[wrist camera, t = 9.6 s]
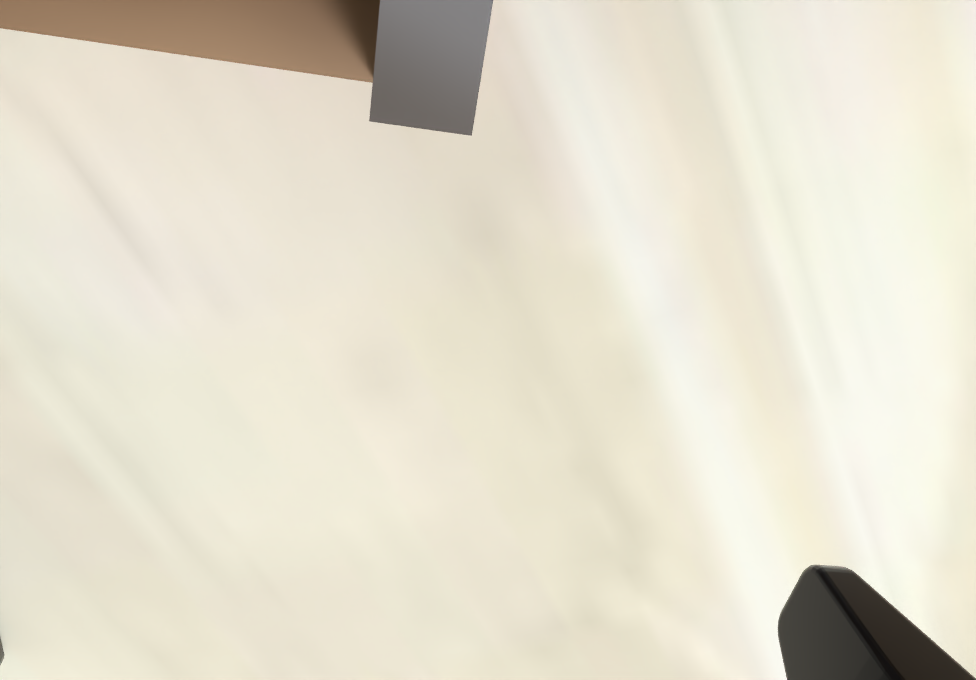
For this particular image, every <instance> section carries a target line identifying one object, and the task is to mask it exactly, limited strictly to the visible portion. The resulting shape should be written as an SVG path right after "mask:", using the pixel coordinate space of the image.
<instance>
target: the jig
mask: <svg viewBox="0 0 976 680" xmlns="http://www.w3.org/2000/svg"><path fill="white" fill-rule="evenodd" d="M492 4H493V0H0V28H3V29H10V30H17V31H24V32H31V33H38V34H44V35H51V36H58V37H65V38H72V39H79V40H85V41H92V42H99V43H106V44H113V45H119V46H126V47H133V48H140V49H147V50H154V51H160V52H167V53H174V54H181V55H188V56H195V57H201V58H208V59H215V60H222V61H229V62H235V63H242V64H249V65H256V66H263V67H270V68H276V69H283V70H290V71H297V72H304V73H311V74H317V75H324V76H331V77H338V78H345V79H351V80H358V81H365V82H372V83H373V87H372V98H371V109H370V120H369V121H371V122H378V123H385V124H393V125H400V126H407V127H414V128H421V129H428V130H435V131H443V132H450V133H457V134H464V135H471V136H472V130H473V123H474V117H475V111H476V105H477V98H478V92H479V86H480V79H481V73H482V67H483V60H484V54H485V48H486V42H487V35H488V29H489V23H490V16H491V10H492Z"/></svg>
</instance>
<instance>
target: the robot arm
mask: <svg viewBox="0 0 976 680" xmlns="http://www.w3.org/2000/svg"><path fill="white" fill-rule="evenodd" d="M778 637H779V643H780V647H781V652H782V657H783V662H784V667H785V672H786V677H787V680H976V678H974V677H973V676H972V675H971V674H970V673H969V672H968V671H967V670H965V669H964V668H963V667H962V666H961V665H960V664H959V663H957V662H956V661H955V660H954V659H953V658H952V657H951V656H949V655H948V654H947V653H946V652H945V651H944V650H943V649H941V648H940V647H939V646H938V645H937V644H936V643H935V642H934V641H932V640H931V639H930V638H929V637H928V636H927V635H926V634H924V633H923V632H922V631H921V630H920V629H919V628H918V627H916V626H915V625H914V624H913V623H912V622H911V621H910V620H908V619H907V618H906V617H905V616H904V615H903V614H902V613H901V612H899V611H898V610H897V609H896V608H895V607H894V606H893V605H891V604H890V603H889V602H888V601H887V600H886V599H885V598H883V597H882V596H881V595H880V594H879V593H878V592H877V591H875V590H874V589H873V588H872V587H871V586H870V585H869V584H868V583H866V582H865V581H864V580H863V579H862V578H861V577H860V576H858V575H857V574H856V573H855V572H853V571H852V570H850V569H848V568H845V567H840V566H827V565H811V566H809V567H808V568H807V569H805V570H804V571H803V573H802V575H801V576H800V578H799V580H798V582H797V584H796V586H795V587H794V589H793V591H792V593H791V595H790V597H789V598H788V600H787V602H786V604H785V606H784V608H783V609H782V611H781V614H780V617H779V621H778ZM3 659H4V652H3V648H2V644H1V639H0V665H1V663H2V661H3Z"/></svg>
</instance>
